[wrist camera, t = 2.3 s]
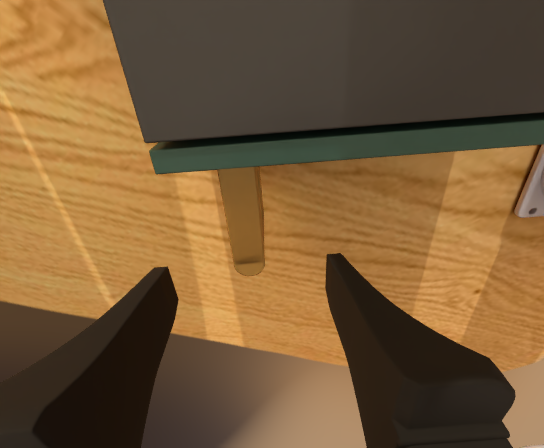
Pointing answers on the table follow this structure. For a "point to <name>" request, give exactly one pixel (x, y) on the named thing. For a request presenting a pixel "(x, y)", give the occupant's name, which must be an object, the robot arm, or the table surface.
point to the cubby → (324, 63)
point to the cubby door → (323, 147)
